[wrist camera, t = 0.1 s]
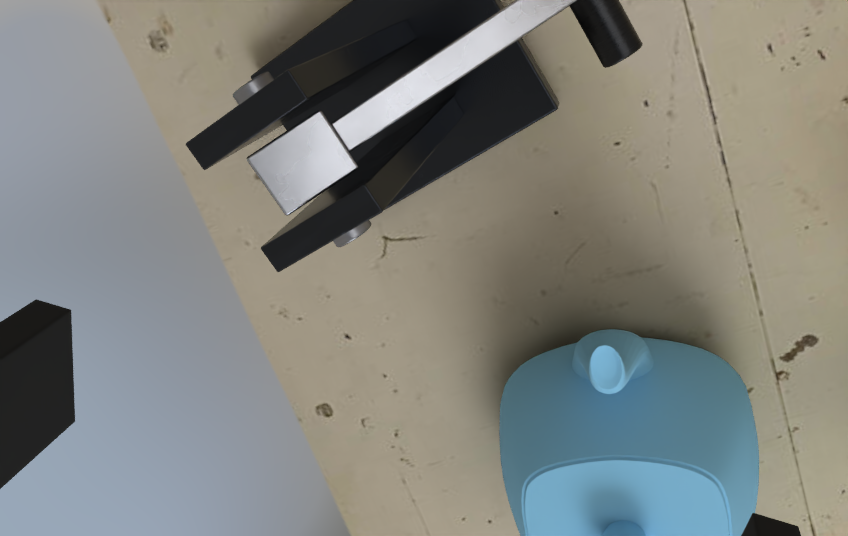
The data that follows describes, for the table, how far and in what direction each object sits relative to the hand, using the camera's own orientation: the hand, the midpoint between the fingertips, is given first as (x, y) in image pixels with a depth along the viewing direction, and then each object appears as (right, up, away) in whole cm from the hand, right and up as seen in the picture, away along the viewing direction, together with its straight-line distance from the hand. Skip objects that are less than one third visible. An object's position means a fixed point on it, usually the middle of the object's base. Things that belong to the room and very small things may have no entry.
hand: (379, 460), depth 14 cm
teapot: (+12, -3, +26) cm, 29 cm away
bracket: (0, +12, +22) cm, 25 cm away
